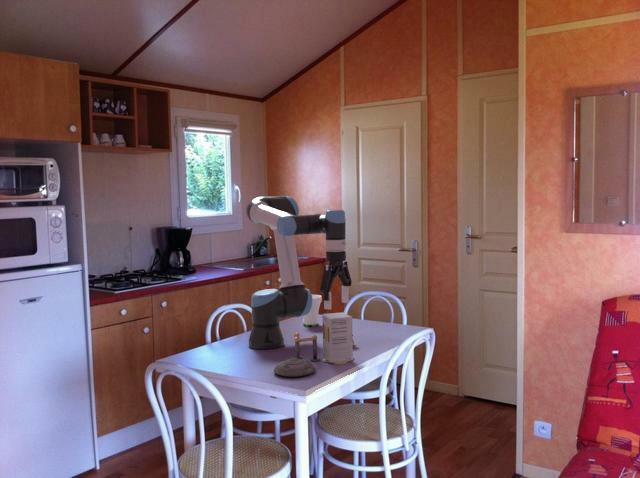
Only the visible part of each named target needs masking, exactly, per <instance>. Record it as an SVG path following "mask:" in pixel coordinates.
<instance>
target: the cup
mask: <svg viewBox="0 0 640 478" xmlns="http://www.w3.org/2000/svg"><path fill="white" fill-rule="evenodd" d="M322 301H323V298H322V295H320V294H312V307H311V310H310V312H309V313H308V314H307V315H304V316H302V317H303V319H302V324H303V326H304V327H307V328H308V327H310V326H311V327H313V328H314V327H316V326H319V323H320V319H319V309H320V306H321V303H322Z"/></svg>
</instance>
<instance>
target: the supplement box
mask: <svg viewBox="0 0 640 478" xmlns="http://www.w3.org/2000/svg"><path fill="white" fill-rule="evenodd" d="M321 316H322V357H323V358H324V359H325V358H326V359H327V360H328V361H330V362H339V361H348V360H351V361H353V360H354V359H353V357H354V355H353V354H354V350H353V348H354V344H353V341H354V338H353V337H352V334H353V316H351V315H349V314H348V313H345V312H342V311H341V312H333V313H332V312H331V313H322V315H321ZM352 338H353V339H352Z"/></svg>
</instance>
